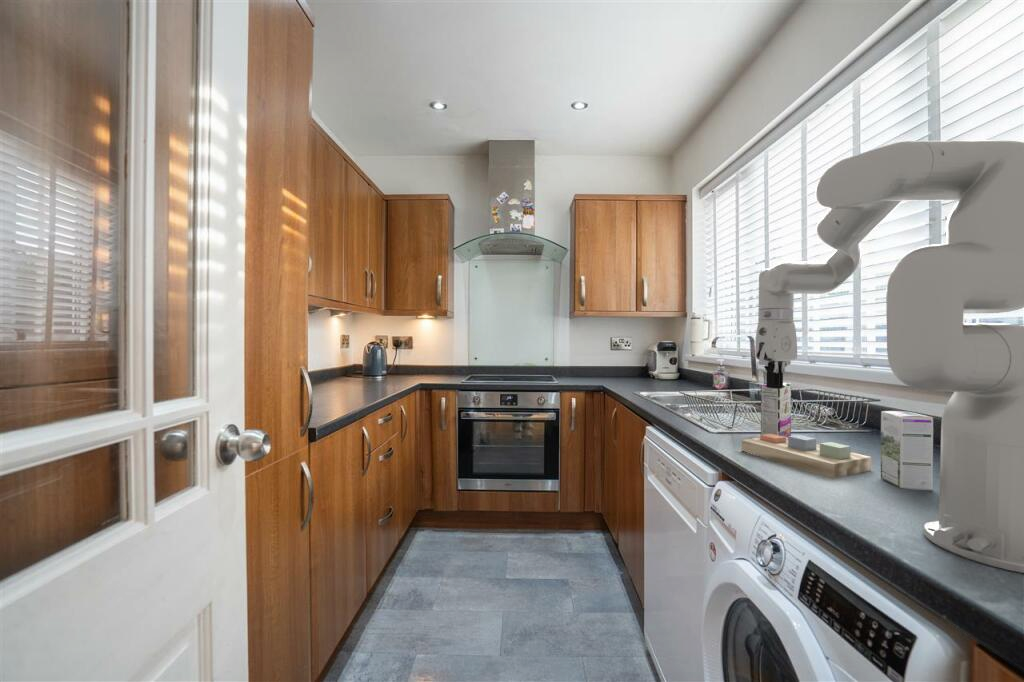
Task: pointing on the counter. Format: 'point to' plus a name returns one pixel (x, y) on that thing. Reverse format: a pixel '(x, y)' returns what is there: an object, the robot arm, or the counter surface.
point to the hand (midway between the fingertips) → (774, 387)
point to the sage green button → (835, 450)
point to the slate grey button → (802, 442)
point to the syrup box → (907, 449)
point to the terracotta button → (773, 438)
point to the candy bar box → (776, 410)
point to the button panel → (808, 458)
